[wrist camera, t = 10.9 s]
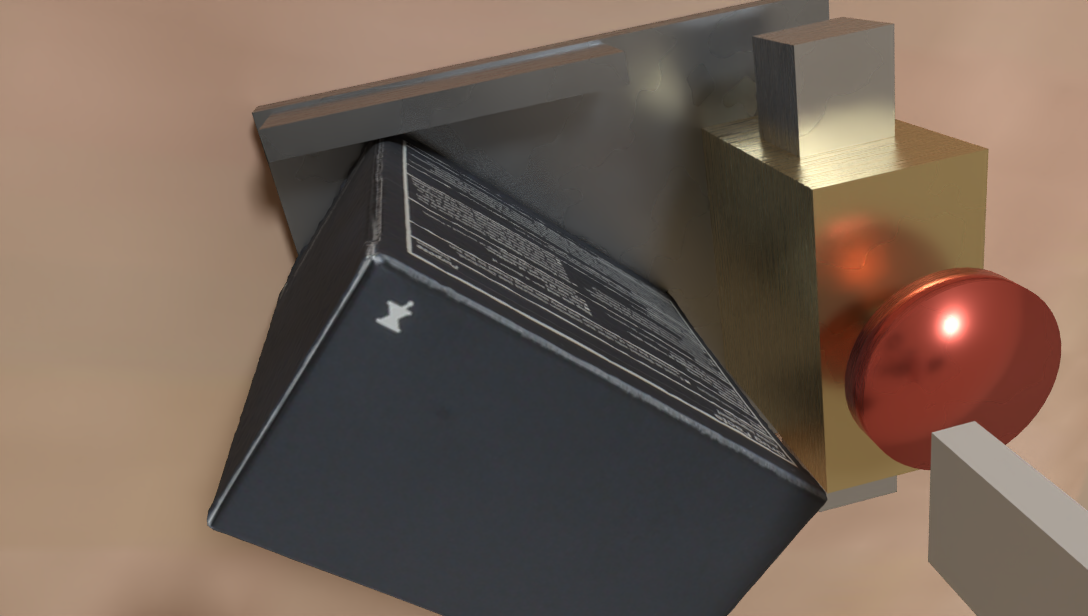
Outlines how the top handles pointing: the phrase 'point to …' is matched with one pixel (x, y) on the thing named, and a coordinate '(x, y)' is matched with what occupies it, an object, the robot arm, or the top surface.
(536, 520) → the small box
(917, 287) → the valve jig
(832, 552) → the top surface
